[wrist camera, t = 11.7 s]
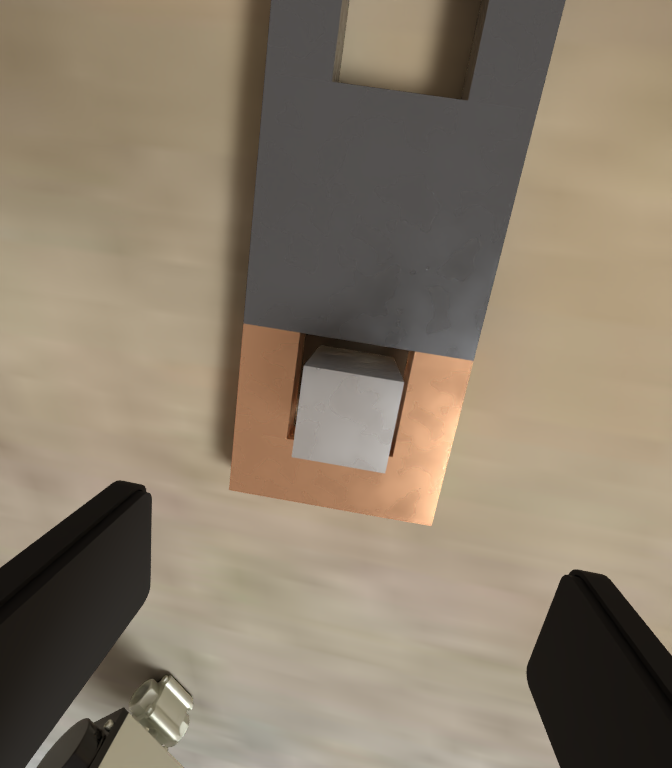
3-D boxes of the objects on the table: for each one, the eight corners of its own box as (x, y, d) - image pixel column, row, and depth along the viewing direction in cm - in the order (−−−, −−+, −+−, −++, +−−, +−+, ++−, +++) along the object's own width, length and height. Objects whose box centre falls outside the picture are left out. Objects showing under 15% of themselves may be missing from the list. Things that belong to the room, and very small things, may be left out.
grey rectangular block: (393, 357, 25) (404, 382, 18) (379, 425, 26) (385, 473, 19) (320, 344, 25) (303, 365, 18) (310, 413, 26) (291, 457, 19)
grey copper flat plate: (582, -136, 18) (617, -203, 15) (425, 504, 27) (431, 526, 25) (301, -169, 18) (291, -238, 16) (241, 472, 28) (229, 489, 25)
